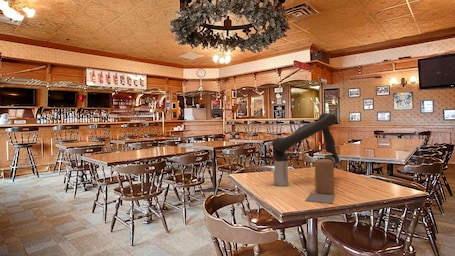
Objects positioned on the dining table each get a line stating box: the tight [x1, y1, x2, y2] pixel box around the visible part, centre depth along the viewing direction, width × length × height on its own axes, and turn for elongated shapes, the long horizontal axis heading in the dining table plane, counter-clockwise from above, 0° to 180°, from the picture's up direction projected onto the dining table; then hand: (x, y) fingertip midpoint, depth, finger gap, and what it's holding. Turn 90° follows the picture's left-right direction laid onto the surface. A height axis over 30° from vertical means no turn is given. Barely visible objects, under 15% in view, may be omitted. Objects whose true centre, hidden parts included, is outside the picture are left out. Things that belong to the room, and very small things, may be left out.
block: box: [314, 158, 335, 195], centre depth 167 cm, size 10×10×20 cm
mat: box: [304, 192, 336, 205], centre depth 154 cm, size 14×17×1 cm
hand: (325, 166), depth 174 cm, fingers closed
